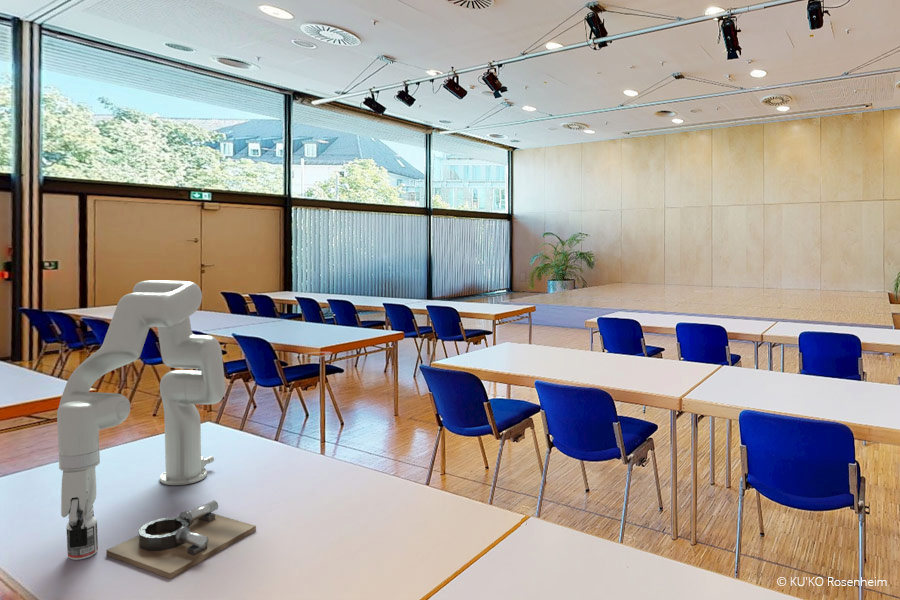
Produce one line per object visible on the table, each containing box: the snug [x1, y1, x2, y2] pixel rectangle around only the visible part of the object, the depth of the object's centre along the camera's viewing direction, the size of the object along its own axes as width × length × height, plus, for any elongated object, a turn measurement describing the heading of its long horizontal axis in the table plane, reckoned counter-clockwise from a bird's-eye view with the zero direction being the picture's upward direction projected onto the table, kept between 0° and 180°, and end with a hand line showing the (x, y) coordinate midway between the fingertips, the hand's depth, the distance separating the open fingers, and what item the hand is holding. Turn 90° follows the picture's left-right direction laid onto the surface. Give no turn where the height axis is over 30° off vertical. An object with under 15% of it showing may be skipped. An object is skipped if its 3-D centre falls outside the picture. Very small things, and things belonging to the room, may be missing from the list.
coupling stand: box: [106, 500, 257, 580], centre depth 139 cm, size 24×20×6 cm
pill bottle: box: [66, 506, 99, 561], centre depth 133 cm, size 6×6×10 cm
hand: (82, 538), depth 133 cm, fingers closed on pill bottle, 5 cm apart
